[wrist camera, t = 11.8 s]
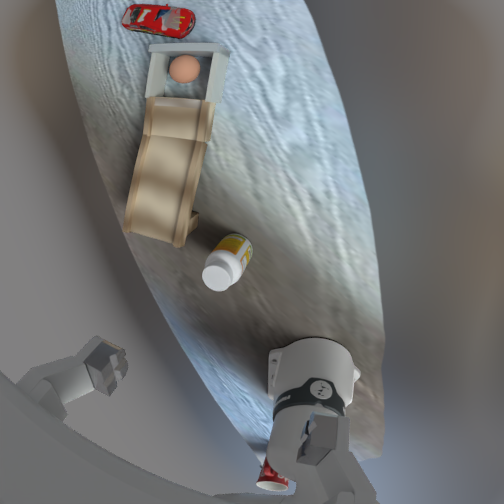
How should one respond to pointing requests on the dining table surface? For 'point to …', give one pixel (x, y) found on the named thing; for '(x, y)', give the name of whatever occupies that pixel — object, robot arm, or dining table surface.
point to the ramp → (169, 168)
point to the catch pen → (215, 50)
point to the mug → (271, 479)
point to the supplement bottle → (227, 262)
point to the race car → (159, 20)
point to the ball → (184, 69)
